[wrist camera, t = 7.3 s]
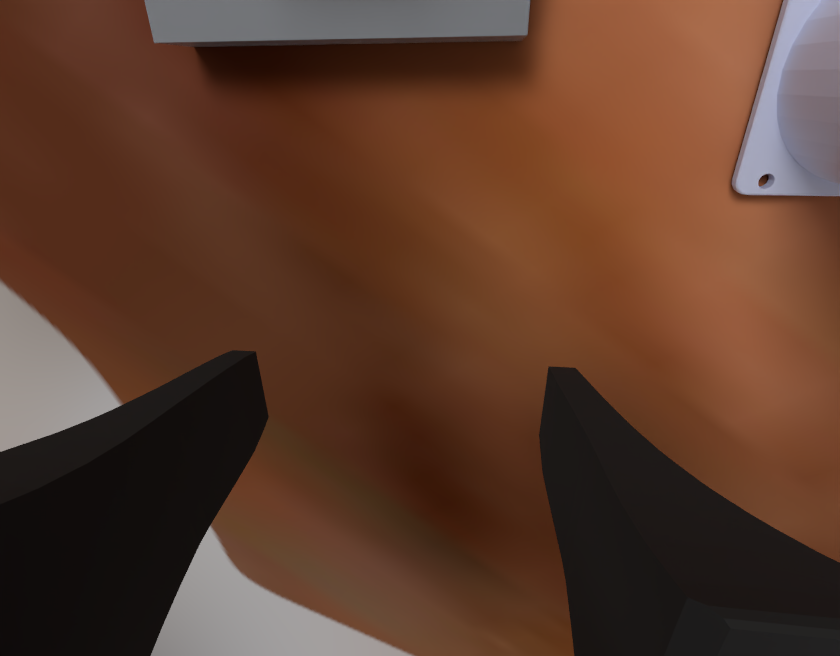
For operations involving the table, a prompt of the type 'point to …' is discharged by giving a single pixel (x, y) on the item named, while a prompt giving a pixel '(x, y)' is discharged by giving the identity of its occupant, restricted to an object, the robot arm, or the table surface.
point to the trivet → (334, 21)
